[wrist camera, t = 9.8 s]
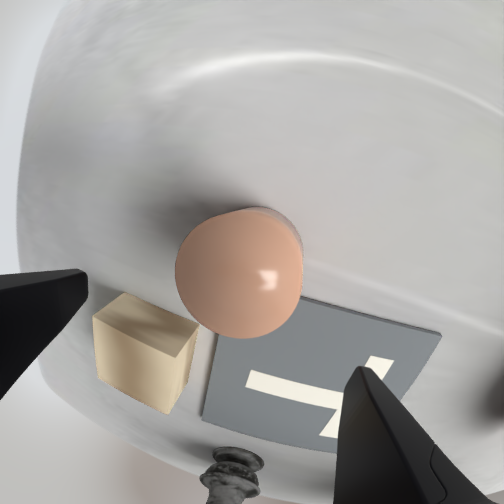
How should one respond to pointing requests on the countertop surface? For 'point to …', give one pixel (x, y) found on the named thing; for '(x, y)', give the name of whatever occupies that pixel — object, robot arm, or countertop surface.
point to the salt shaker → (232, 476)
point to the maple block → (144, 350)
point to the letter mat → (309, 372)
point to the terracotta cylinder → (241, 272)
